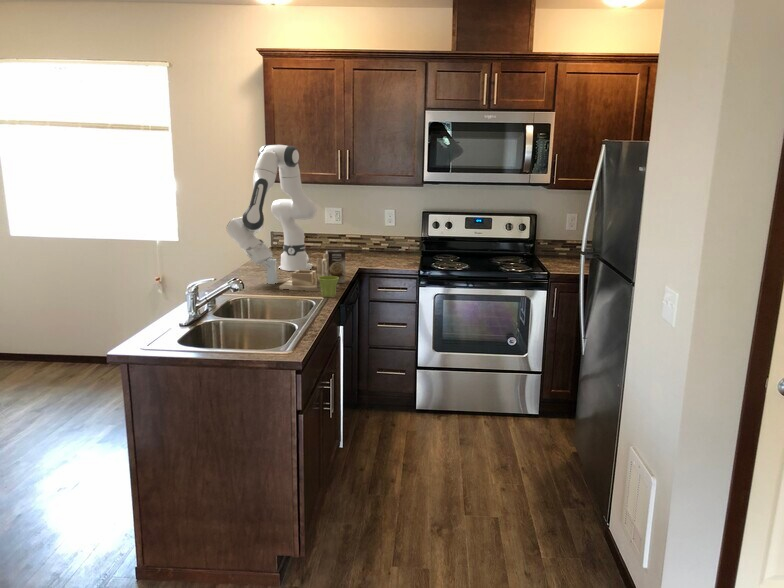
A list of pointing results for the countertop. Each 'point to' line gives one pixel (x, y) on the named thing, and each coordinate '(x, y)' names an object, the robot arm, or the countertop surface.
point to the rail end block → (272, 271)
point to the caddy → (308, 277)
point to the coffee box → (336, 264)
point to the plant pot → (328, 285)
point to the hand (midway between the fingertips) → (271, 266)
